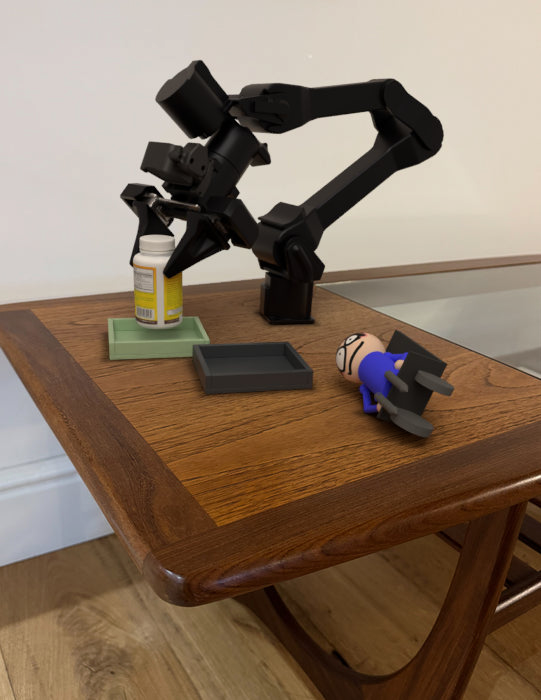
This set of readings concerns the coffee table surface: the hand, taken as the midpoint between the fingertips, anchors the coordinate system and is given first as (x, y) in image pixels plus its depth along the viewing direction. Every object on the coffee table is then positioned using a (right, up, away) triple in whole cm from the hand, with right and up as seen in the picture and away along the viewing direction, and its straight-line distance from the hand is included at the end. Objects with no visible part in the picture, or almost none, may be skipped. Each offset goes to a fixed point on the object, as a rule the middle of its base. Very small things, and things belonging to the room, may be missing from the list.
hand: (148, 271), depth 70 cm
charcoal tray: (+12, -12, -3) cm, 17 cm away
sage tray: (0, -8, +4) cm, 9 cm away
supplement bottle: (+1, -6, +3) cm, 7 cm away
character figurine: (+25, -15, -10) cm, 31 cm away
